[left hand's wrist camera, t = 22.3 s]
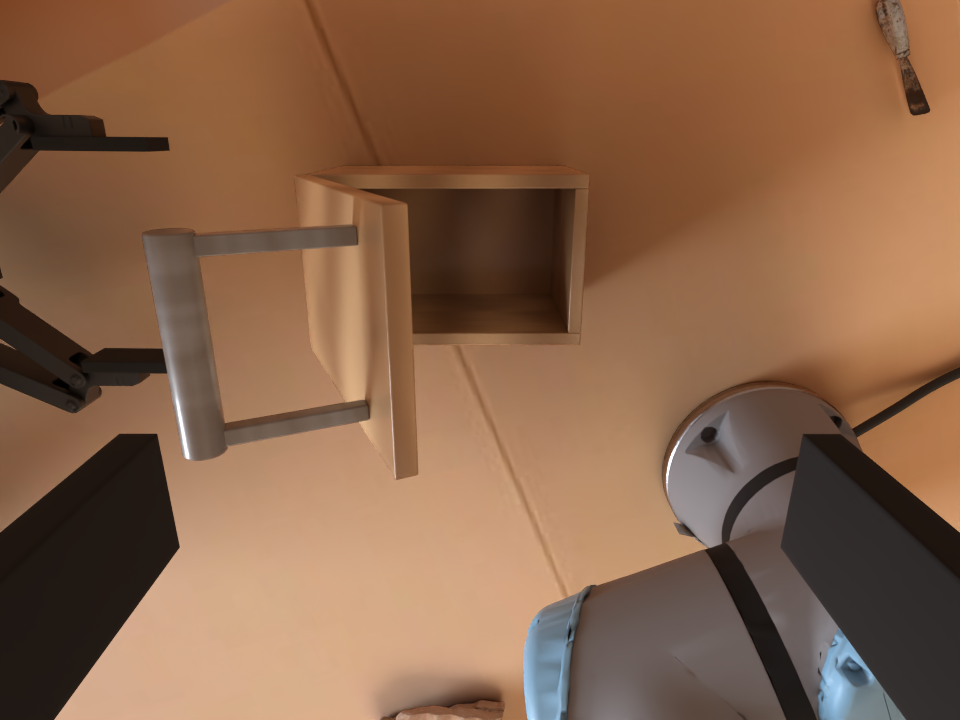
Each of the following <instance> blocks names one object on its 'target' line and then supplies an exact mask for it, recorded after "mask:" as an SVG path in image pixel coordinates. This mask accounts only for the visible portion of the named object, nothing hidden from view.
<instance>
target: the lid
mask: <svg viewBox="0 0 960 720" xmlns="http://www.w3.org/2000/svg"><path fill="white" fill-rule="evenodd" d="M294 179H295V189H296V199H297V209H298V219H299V227H294V228H277V229H260V230H243V231H226V232H208V233H195V231H194V230H192V229H186V228H169V229H157V230H150V231H146V232H144V233H142V239H143V245H144V250H145V256H146V261H147V266H148V272H149V277H150V282H151V288H152V293H153V299H154V304H155V309H156V315H157V320H158V325H159V331H160V336H161V342H162V347H163V352H164V358H165V363H166V368H167V374H168V379H169V384H170V390H171V395H172V401H173V406H174V411H175V417H176V422H177V427H178V433H179V438H180V444H181V449H182V454H183V456H184V457H185V458H186V459H188V460H193V461H201V460H208V459H212V458H215V457H217V456H220V455H221V454H223V453H224V452H226V450H227V449H228V446H233V445H238V444H244V443H249V442H254V441H260V440H265V439H270V438H276V437H281V436H286V435H292V434H297V433H302V432H308V431H313V430H318V429H324V428H329V427H334V426H340V425H345V424H350V423H356V422H359V424H360V425H361V427H362V428H363V430H364V431H365V433H366V434H367V436H368V438H369V439H370V441H371V442H372V444H373V445H374V447H375V448H376V450H377V452H378V453H379V455H380V456H381V458H382V459H383V461H384V462H385V464H386V466H387V467H388V469H389V470H390V472H391V473H392V475H393V476H394V478H395V479H396V480H398V479H403V478H407V477H411V476H416V475H418V455H417V430H416V405H415V379H414V354H413V328H412V303H411V278H410V252H409V227H408V205H407V204H406V203H403V202H400V201H397V200H393V199H390V198H386V197H383V196H380V195H376V194H373V193H369V192H366V191H363V190H359V189H356V188H352V187H349V186H346V185H342V184H339V183H335V182H332V181H329V180H325V179H322V178H318V177H315V176H312V175H295V176H294ZM290 250H302V260H303V270H304V280H305V290H306V300H307V310H308V320H309V330H310V340H311V349H312V350H313V352H314V353H315V355H316V357H317V358H318V360H319V361H320V363H321V364H322V366H323V367H324V369H325V371H326V372H327V374H328V375H329V377H330V378H331V380H332V381H333V383H334V385H335V386H336V388H337V389H338V391H339V392H340V394H341V395H342V397H343V399H344V400H345V403H340V404H334V405H328V406H322V407H316V408H311V409H305V410H299V411H293V412H288V413H282V414H276V415H270V416H264V417H259V418H253V419H247V420H241V421H236V422H230V423H225V421H224V414H223V408H222V402H221V395H220V389H219V382H218V376H217V370H216V363H215V357H214V350H213V344H212V338H211V331H210V325H209V319H208V312H207V306H206V299H205V293H204V287H203V280H202V274H201V267H200V261H199V257H207V256H220V255H234V254H248V253H262V252H276V251H290Z"/></svg>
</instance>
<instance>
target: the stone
mask: <svg viewBox="0 0 960 720" xmlns="http://www.w3.org/2000/svg"><path fill="white" fill-rule="evenodd" d="M504 709H505V704H504V702H491V701H486V700H480V701H478V702H476V703H473V704H467V703H466V704H456V705H454V706H452V707H450V708H446V707H441V706H436V705H432V706H426V707H417V708H414V709H412V710H403V711H401V712H400V713H399V714H398V715H397V717H395V718H388V717H381V720H502V717H503V712H504Z"/></svg>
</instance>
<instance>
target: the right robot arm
mask: <svg viewBox="0 0 960 720" xmlns="http://www.w3.org/2000/svg"><path fill="white" fill-rule="evenodd" d="M37 100H38V93H37V90H36V89H35V88H34V86H33V85H31V84H29V83H22V82H14V81H6V80H0V124H2V123H3V122H4V123H3V124H2V125H1V126H0V193H1V192H2V191H3V190H4V189H5V188H6V186H7V185H8V184H9V183H10V182H11V181H12V180H13V179H14V178H15V177H16V176H17V174H18V173H19V172H20V171H21V170H22V169H23V168H24V167H25V166H26V165H27V163H28V162H29V161H30V160H31V159H32V158H33V157H34V156H35V155H36V154H37V152H38V151H39V150H49V151H139V152H149V151H170V149H169V142H168V137H106V133H105V128H104V122H103V119H100V118H98V117H95V116H84V115H50V114H47V113H46V112H45V111H44V110H42V108H41V107H40V105H39V103H38V102H37ZM1 278H3V277H2V273H1V269H0V279H1ZM0 339H2V340H3V341H5V342H6V343H8V344H9V345H11V346H12V347H14V348H15V349H17V350H15V349H13V348H11V347H8V346H6V345H4V344H1V343H0V384H3V385H5V386H8V387H10V388H12V389H15V390H17V391H20V392H22V393H24V394H27V395H29V396H32V397H34V398H36V399H39V400H41V401H44V402H46V403H48V404H51V405H53V406H56V407H58V408H60V409H63V410H65V411H68V412H70V413H77V412H79V411H80V410H82V409H83V408H85V407H86V406H87V405H89V404H90V403H92V402H93V401H95V400H96V399H98V398H99V397H100V396H101V394H102V391H101V388H100V387H99V386H133V385H136V384H139V383H140V382H142V381H143V380H144V379H146V378H147V377H149V376H150V373H167V368H166V363H165V358H164V352H163V349H140V348H104V349H102V350H101V351H99V352H97V353H95V354H94V355H93V354H91V353H90V352H89V351H87V350H86V349H84V348H83V347H81V346H80V345H78V344H77V343H75V342H74V341H73V340H71V339H70V338H68V337H67V336H65V335H64V334H62V333H61V332H59V331H58V330H57V329H55V328H54V327H52V326H51V325H49V324H48V323H46V322H45V321H43V320H42V319H41V318H39V317H38V316H36V315H35V314H33V313H32V312H30V311H29V310H27V309H26V308H25V307H23V306H22V305H20V304H19V299H18V297H16V296H15V295H14V294H12V293H11V292H9V291H8V290H6V289H5V288H4V287H2V286H1V285H0Z"/></svg>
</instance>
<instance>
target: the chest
mask: <svg viewBox="0 0 960 720" xmlns="http://www.w3.org/2000/svg"><path fill="white" fill-rule="evenodd" d="M307 175H312V176H315V177H318V178H322V179H325V180H329V181H332V182H335V183H339V184H342V185H346V186H349V187H352V188H356V189H359V190H363V191H366V192H369V193H373V194H376V195H380V196H383V197H386V198H390V199H393V200H397V201H400V202H403V203H406V204H407V205H408V227H409V252H410V278H411V303H412V328H413V345H580V336H581V334H580V332H581V319H582V302H583V285H584V268H585V250H586V233H587V216H588V199H589V189H588V188H589V180H590V175H589V174H586V173H583V172H580V171H578V170H575V169H572V168H569V167H567V166H342V167H337V168H333V169H329V170H324V171H320V172H315V173H311V174H307Z"/></svg>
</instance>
